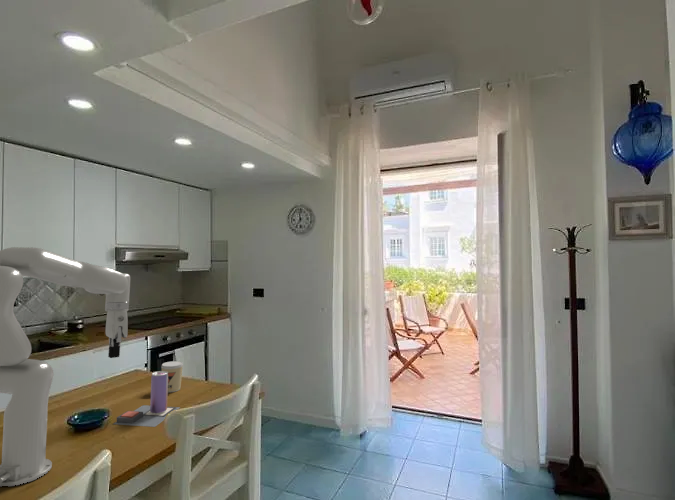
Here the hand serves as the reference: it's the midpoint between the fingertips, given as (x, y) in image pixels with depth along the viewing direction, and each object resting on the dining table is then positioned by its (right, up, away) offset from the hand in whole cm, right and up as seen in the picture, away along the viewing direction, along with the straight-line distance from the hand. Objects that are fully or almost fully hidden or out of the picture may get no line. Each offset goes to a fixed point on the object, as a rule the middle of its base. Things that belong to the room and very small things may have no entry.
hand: (113, 357), depth 138 cm
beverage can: (+12, -24, +10) cm, 29 cm away
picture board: (+9, -25, +6) cm, 28 cm away
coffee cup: (+4, -26, +38) cm, 46 cm away
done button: (+5, -25, +2) cm, 25 cm away
